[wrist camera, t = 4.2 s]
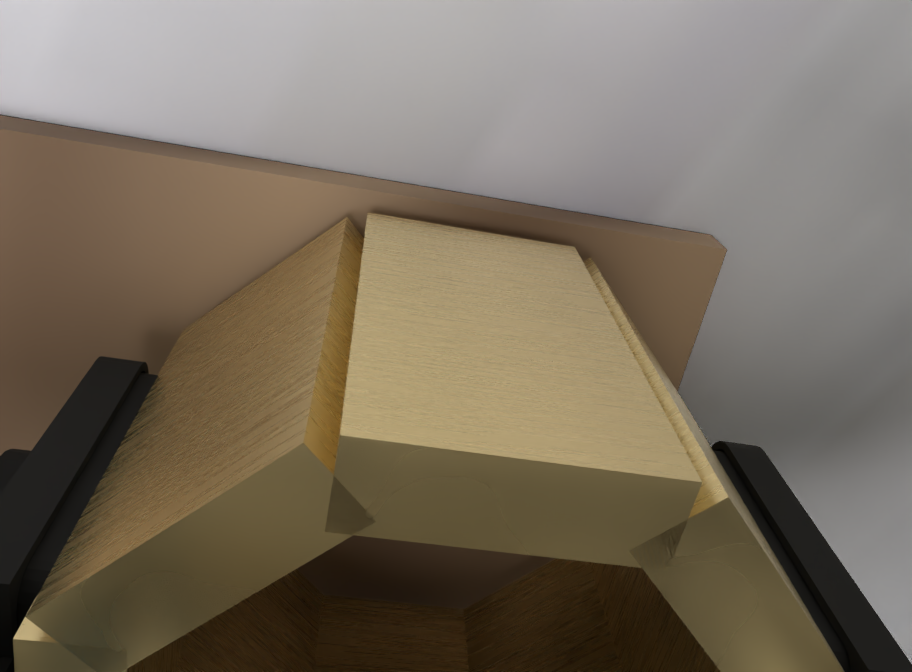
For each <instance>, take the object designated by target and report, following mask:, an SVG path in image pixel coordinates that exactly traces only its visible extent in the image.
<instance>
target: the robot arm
mask: <svg viewBox="0 0 912 672" xmlns="http://www.w3.org/2000/svg"><path fill="white" fill-rule="evenodd" d="M157 377H158V375H153V374H149V371H148V365H147V363H146V362H141V361H134V360H126V359H119V358H112V357H104V356H100V357H98V358H97V359H96V361H95V362H94V364H93V365H92V366H91V368H90V369H89V371H88V372H87V373H86V375H85V376H84V378H83V379H82V380H81V382H80V383H79V385H78V386H77V387H76V389H75V390H74V392H73V393H72V394H71V396H70V397H69V399H68V400H67V401H66V403H65V404H64V406H63V407H62V409H61V410H60V411H59V413H58V414H57V416H56V417H55V418H54V420H53V421H52V423H51V424H50V425H49V427H48V428H47V430H46V431H45V432H44V434H43V435H42V437H41V438H40V439H39V441H38V442H37V444H36V445H35V446H34V448H33V449H32V451H29V450H21V449H9V450H6V451H5V452H4V453H3V454H2V455H1V456H0V672H15V669H14V650H13V638H14V636H15V634H16V632H17V631H18V629H19V627H20V625H21V623H22V622H23V620H24V618H25V616H26V614H27V612H28V611H29V609H30V607H31V605H32V603H33V602H34V600H35V598H36V596H37V595H38V593H39V592H40V590H41V588H42V586H43V584H44V582H45V581H46V579H47V577H48V575H49V573H50V572H51V570H52V568H53V566H54V564H55V562H56V561H57V559H58V557H59V555H60V553H61V551H62V550H63V548H64V546H65V544H66V542H67V541H68V539H69V537H70V535H71V533H72V531H73V530H74V528H75V526H76V524H77V522H78V521H79V519H80V517H81V515H82V513H83V511H84V510H85V508H86V506H87V504H88V502H89V500H90V499H91V497H92V495H93V493H94V491H95V490H96V488H97V486H98V484H99V482H100V480H101V479H102V477H103V475H104V473H105V471H106V469H107V468H108V466H109V464H110V462H111V460H112V459H113V457H114V455H115V453H116V451H117V449H118V448H119V446H120V444H121V442H122V440H123V439H124V437H125V435H126V433H127V431H128V429H129V428H130V426H131V424H132V422H133V420H134V418H135V417H136V415H137V413H138V411H139V409H140V408H141V406H142V404H143V402H144V400H145V398H146V397H147V395H148V393H149V391H150V389H151V387H152V386H153V384H154V382H155V380H156V378H157ZM711 448H712V450H713V452H714V453H715V455H716V457H717V458H718V460H719V462H720V463H721V465H722V467H723V468H724V470H725V472H726V473H727V475H728V477H729V478H730V480H731V482H732V483H733V485H734V487H735V488H736V490H737V492H738V494H739V495H740V497H741V499H742V500H743V502H744V504H745V505H746V507H747V509H748V510H749V512H750V514H751V515H752V517H753V519H754V520H755V522H756V524H757V525H758V527H759V529H760V531H761V532H762V534H763V536H764V537H765V539H766V541H767V542H768V544H769V546H770V547H771V549H772V551H773V552H774V554H775V556H776V557H777V559H778V561H779V562H780V564H781V566H782V567H783V569H784V571H785V573H786V574H787V576H788V578H789V579H790V581H791V583H792V584H793V586H794V588H795V589H796V591H797V593H798V594H799V596H800V598H801V599H802V601H803V603H804V604H805V606H806V608H807V609H808V611H809V613H810V615H811V616H812V618H813V620H814V621H815V623H816V625H817V626H818V628H819V630H820V631H821V633H822V635H823V636H824V638H825V640H826V641H827V643H828V645H829V646H830V648H831V650H832V651H833V653H834V655H835V657H836V658H837V660H838V662H839V663H840V665H841V667H842V668H843V670H844V672H912V664H911V663H910V661H909V660H908V658H907V657H906V656H905V654H904V653H903V651H902V650H901V648H900V647H899V645H898V644H897V643H896V641H895V640H894V638H893V637H892V635H891V634H890V632H889V631H888V630H887V628H886V627H885V625H884V624H883V622H882V621H881V619H880V618H879V617H878V615H877V614H876V612H875V611H874V609H873V608H872V606H871V605H870V604H869V602H868V601H867V599H866V598H865V596H864V595H863V593H862V592H861V591H860V589H859V588H858V586H857V585H856V583H855V582H854V580H853V579H852V578H851V576H850V575H849V573H848V572H847V570H846V569H845V567H844V566H843V565H842V563H841V562H840V560H839V559H838V557H837V556H836V554H835V553H834V552H833V550H832V549H831V547H830V546H829V544H828V543H827V541H826V540H825V539H824V537H823V536H822V534H821V533H820V531H819V530H818V528H817V527H816V526H815V524H814V523H813V521H812V520H811V518H810V517H809V515H808V514H807V513H806V511H805V510H804V508H803V507H802V505H801V504H800V502H799V501H798V500H797V498H796V497H795V495H794V494H793V492H792V491H791V489H790V488H789V487H788V485H787V484H786V482H785V481H784V479H783V478H782V476H781V475H780V474H779V472H778V471H777V469H776V468H775V466H774V465H773V463H772V462H771V461H770V459H769V458H768V456H767V455H766V453H765V452H764V451H763V450H762V449H761V448H760V447H758V446H752V445H745V444H738V443H731V442H723V441H719V442H716V443H715V444H714V445H713V446H712V447H711Z"/></svg>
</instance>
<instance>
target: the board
mask: <svg viewBox="0 0 912 672" xmlns="http://www.w3.org/2000/svg"><path fill="white" fill-rule="evenodd" d="M368 212H370V213H376V214H382V215H388V216H394V217H400V218H406V219H412V220H418V221H424V222H430V223H436V224H442V225H448V226H454V227H460V228H465V229H471V230H477V231H483V232H489V233H495V234H501V235H507V236H513V237H519V238H525V239H531V240H537V241H543V242H549V243H555V244H561V245H567V246H573V247H575V248H576V250H577V252H578V254H579V255H580V257H581V259H582V261H583V262H584V261H585V260H587V259H588V258H590V257H591V258H592V260H593V261H594V263H595V264H596V266H597V267H598V269H599V270H600V272H601V274H602V275H603V277H604V278H605V280H606V281H607V283H608V284H609V286H610V288H611V289H612V291H613V292H614V294H615V295H616V297H617V298H618V300H619V302H620V303H621V305H622V306H623V308H624V309H625V311H626V312H627V314H628V316H629V317H630V319H631V320H632V322H633V323H634V325H635V326H636V328H637V330H638V331H639V333H640V334H641V336H642V337H643V339H644V340H645V342H646V344H647V345H648V347H649V348H650V350H651V351H652V353H653V354H654V356H655V358H656V359H657V361H658V362H659V364H660V365H661V367H662V368H663V370H664V372H665V373H666V375H667V376H668V378H669V379H670V381H671V382H672V384H673V386H674V387H675V389H676V390H677V391H678V388H679V385H680V383H681V380H682V377H683V374H684V371H685V368H686V365H687V363H688V360H689V357H690V354H691V351H692V348H693V346H694V343H695V340H696V337H697V334H698V331H699V328H700V326H701V323H702V320H703V317H704V314H705V311H706V308H707V306H708V303H709V300H710V297H711V294H712V291H713V289H714V286H715V283H716V280H717V277H718V274H719V271H720V269H721V266H722V263H723V260H724V257H725V254H726V252H727V249H726V248H725V247H724V246H723V245H722V244H721V243H719V242H718V241H717V240H716V239H715V238H714V237H713V236H712V235H708V234H702V233H696V232H690V231H684V230H678V229H672V228H666V227H660V226H655V225H649V224H643V223H637V222H631V221H625V220H619V219H613V218H607V217H601V216H595V215H589V214H583V213H577V212H572V211H566V210H560V209H554V208H548V207H542V206H536V205H530V204H524V203H518V202H512V201H506V200H500V199H494V198H489V197H483V196H477V195H471V194H465V193H459V192H453V191H447V190H441V189H435V188H429V187H423V186H417V185H411V184H405V183H400V182H394V181H388V180H382V179H376V178H370V177H364V176H358V175H352V174H346V173H340V172H334V171H328V170H322V169H317V168H311V167H305V166H299V165H293V164H287V163H281V162H275V161H269V160H263V159H257V158H251V157H245V156H239V155H234V154H228V153H222V152H216V151H210V150H204V149H198V148H192V147H186V146H180V145H174V144H168V143H162V142H156V141H151V140H145V139H139V138H133V137H127V136H121V135H115V134H109V133H103V132H97V131H91V130H85V129H79V128H73V127H68V126H62V125H56V124H50V123H44V122H38V121H32V120H26V119H20V118H14V117H8V116H2V115H0V456H1V455H2V454H3V453H4V452H5V451H6V450H9V449H21V450H29V451H32V449H33V448H34V446H35V445H36V444H37V442H38V441H39V439H40V438H41V437H42V435H43V434H44V432H45V431H46V430H47V428H48V427H49V425H50V424H51V423H52V421H53V420H54V418H55V417H56V416H57V414H58V413H59V411H60V410H61V409H62V407H63V406H64V404H65V403H66V401H67V400H68V399H69V397H70V396H71V394H72V393H73V392H74V390H75V389H76V387H77V386H78V385H79V383H80V382H81V380H82V379H83V378H84V376H85V375H86V373H87V372H88V371H89V369H90V368H91V366H92V365H93V364H94V362H95V361H96V359H97V358H98V357H100V356H104V357H112V358H119V359H126V360H134V361H141V362H146V363H147V365H148V371H149V374H153V375H158V374H159V372H160V370H161V369H162V367H163V365H164V363H165V361H166V360H167V358H168V356H169V354H170V352H171V350H172V349H173V347H174V345H175V344H176V342H177V340H178V338H179V336H180V335H181V333H182V331H183V329H185V328H186V327H188V326H189V325H191V324H192V323H193V322H195V321H196V320H198V319H199V318H201V317H202V316H204V315H205V314H206V313H208V312H209V311H211V310H212V309H214V308H215V307H217V306H218V305H220V304H221V303H222V302H224V301H225V300H227V299H228V298H230V297H231V296H233V295H234V294H235V293H237V292H238V291H240V290H241V289H243V288H244V287H246V286H247V285H249V284H250V283H251V282H253V281H254V280H256V279H257V278H259V277H260V276H262V275H263V274H264V273H266V272H267V271H269V270H270V269H272V268H273V267H275V266H276V265H278V264H279V263H280V262H282V261H283V260H285V259H286V258H288V257H289V256H291V255H292V254H293V253H295V252H296V251H298V250H299V249H301V248H302V247H304V246H305V245H307V244H308V243H309V242H311V241H312V240H314V239H315V238H317V237H318V236H320V235H321V234H322V233H324V232H325V231H327V230H328V229H330V228H331V227H333V226H334V225H336V224H337V223H338V222H340V221H341V220H343V219H344V218H346V217H348V218H349V220H350V221H351V222H352V223H353V225H354V226H355V227H356V229H357V230H358V231H359V232H360V234H361V235H362V236H363V238H364V233H365V226H366V220H367V213H368ZM554 559H556V558H550V557H541V556H532V555H523V554H515V553H506V552H497V551H488V550H479V549H471V548H462V547H453V546H444V545H435V544H427V543H418V542H409V541H400V540H391V539H383V538H374V537H365V536H356V535H353V536H351V537H350V538H348V539H346V540H344V541H343V542H341V543H339V544H338V545H336V546H334V547H333V548H331V549H329V550H327V551H326V552H324V553H322V554H321V555H319V556H317V557H316V558H314V559H312V560H310V561H309V562H307V563H305V564H304V565H302V566H300V567H299V568H297V570H298V571H299V572H300V573H301V574H302V575H303V576H304V577H305V578H306V579H307V580H308V581H309V582H310V583H311V584H312V585H313V586H315V587H316V588H317V589H318V590H319V591H320V592H321V593H322V594H323V595H331V596H340V597H350V598H360V599H369V600H379V601H389V602H398V603H408V604H418V605H427V606H437V607H447V608H456V609H465V608H467V607H468V606H470V605H472V604H474V603H476V602H478V601H479V600H481V599H483V598H485V597H487V596H488V595H490V594H492V593H494V592H496V591H498V590H499V589H501V588H503V587H505V586H507V585H509V584H510V583H512V582H514V581H516V580H518V579H520V578H521V577H523V576H525V575H527V574H529V573H530V572H532V571H534V570H536V569H538V568H540V567H541V566H543V565H545V564H547V563H549V562H551V561H552V560H554Z"/></svg>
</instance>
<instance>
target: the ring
mask: <svg viewBox="0 0 912 672" xmlns="http://www.w3.org/2000/svg"><path fill="white" fill-rule="evenodd" d="M353 535H356V536H365V537H374V538H383V539H391V540H400V541H409V542H418V543H427V544H435V545H444V546H453V547H462V548H471V549H479V550H488V551H497V552H506V553H515V554H523V555H532V556H541V557H550V558H556V559H554V560H552V561H551V562H549V563H547V564H545V565H543V566H541V567H540V568H538V569H536V570H534V571H532V572H530V573H529V574H527V575H525V576H523V577H521V578H520V579H518V580H516V581H514V582H512V583H510V584H509V585H507V586H505V587H503V588H501V589H499V590H498V591H496V592H494V593H492V594H490V595H488V596H487V597H485V598H483V599H481V600H479V601H478V602H476V603H474V604H472V605H470V606H468V607H467V608H465V609H456V608H447V607H437V606H427V605H418V604H408V603H398V602H389V601H379V600H369V599H360V598H350V597H340V596H331V595H323V594H322V593H321V592H320V591H319V590H318V589H317V588H316V587H315V586H313V585H312V584H311V583H310V582H309V581H308V580H307V579H306V578H305V577H304V576H303V575H302V574H301V573H300V572H299V571H298V570H297V568H299V567H300V566H302V565H304V564H305V563H307V562H309V561H310V560H312V559H314V558H316V557H317V556H319V555H321V554H322V553H324V552H326V551H327V550H329V549H331V548H333V547H334V546H336V545H338V544H339V543H341V542H343V541H344V540H346V539H348V538H350V537H351V536H353ZM13 650H14V669H15V672H844V670H843V668H842V667H841V665H840V663H839V662H838V660H837V658H836V657H835V655H834V653H833V651H832V650H831V648H830V646H829V645H828V643H827V641H826V640H825V638H824V636H823V635H822V633H821V631H820V630H819V628H818V626H817V625H816V623H815V621H814V620H813V618H812V616H811V615H810V613H809V611H808V609H807V608H806V606H805V604H804V603H803V601H802V599H801V598H800V596H799V594H798V593H797V591H796V589H795V588H794V586H793V584H792V583H791V581H790V579H789V578H788V576H787V574H786V573H785V571H784V569H783V567H782V566H781V564H780V562H779V561H778V559H777V557H776V556H775V554H774V552H773V551H772V549H771V547H770V546H769V544H768V542H767V541H766V539H765V537H764V536H763V534H762V532H761V531H760V529H759V527H758V525H757V524H756V522H755V520H754V519H753V517H752V515H751V514H750V512H749V510H748V509H747V507H746V505H745V504H744V502H743V500H742V499H741V497H740V495H739V494H738V492H737V490H736V488H735V487H734V485H733V483H732V482H731V480H730V478H729V477H728V475H727V473H726V472H725V470H724V468H723V467H722V465H721V463H720V462H719V460H718V458H717V457H716V455H715V453H714V452H713V450H712V448H711V446H710V445H709V443H708V441H707V440H706V438H705V436H704V435H703V433H702V431H701V430H700V428H699V426H698V425H697V423H696V421H695V420H694V418H693V416H692V415H691V413H690V411H689V410H688V408H687V406H686V404H685V403H684V401H683V400H682V398H681V396H680V395H679V393H678V392H677V390H676V389H675V387H674V386H673V384H672V382H671V381H670V379H669V378H668V376H667V375H666V373H665V372H664V370H663V368H662V367H661V365H660V364H659V362H658V361H657V359H656V358H655V356H654V354H653V353H652V351H651V350H650V348H649V347H648V345H647V344H646V342H645V340H644V339H643V337H642V336H641V334H640V333H639V331H638V330H637V328H636V326H635V325H634V323H633V322H632V320H631V319H630V317H629V316H628V314H627V312H626V311H625V309H624V308H623V306H622V305H621V303H620V302H619V300H618V298H617V297H616V295H615V294H614V292H613V291H612V289H611V288H610V286H609V284H608V283H607V281H606V280H605V278H604V277H603V275H602V274H601V272H600V270H599V269H598V267H597V266H596V264H595V263H594V261H593V260H592V258H591V257H590V258H588V259H587V260H585V261H584V262H583V261H582V259H581V257H580V255H579V254H578V252H577V250H576V248H575V247H573V246H567V245H561V244H555V243H549V242H543V241H537V240H531V239H525V238H519V237H513V236H507V235H501V234H495V233H489V232H483V231H477V230H471V229H465V228H460V227H454V226H448V225H442V224H436V223H430V222H424V221H418V220H412V219H406V218H400V217H394V216H388V215H382V214H376V213H370V212H368V213H367V220H366V226H365V233H364V238H363V236H362V235H361V234H360V232H359V231H358V230H357V229H356V227H355V226H354V225H353V223H352V222H351V221H350V220H349V218H348V217H346V218H344V219H343V220H341V221H340V222H338V223H337V224H336V225H334V226H333V227H331V228H330V229H328V230H327V231H325V232H324V233H322V234H321V235H320V236H318V237H317V238H315V239H314V240H312V241H311V242H309V243H308V244H307V245H305V246H304V247H302V248H301V249H299V250H298V251H296V252H295V253H293V254H292V255H291V256H289V257H288V258H286V259H285V260H283V261H282V262H280V263H279V264H278V265H276V266H275V267H273V268H272V269H270V270H269V271H267V272H266V273H264V274H263V275H262V276H260V277H259V278H257V279H256V280H254V281H253V282H251V283H250V284H249V285H247V286H246V287H244V288H243V289H241V290H240V291H238V292H237V293H235V294H234V295H233V296H231V297H230V298H228V299H227V300H225V301H224V302H222V303H221V304H220V305H218V306H217V307H215V308H214V309H212V310H211V311H209V312H208V313H206V314H205V315H204V316H202V317H201V318H199V319H198V320H196V321H195V322H193V323H192V324H191V325H189V326H188V327H186V328H185V329H183V331H182V333H181V335H180V336H179V338H178V340H177V342H176V344H175V345H174V347H173V349H172V350H171V352H170V354H169V356H168V358H167V360H166V361H165V363H164V365H163V367H162V369H161V370H160V372H159V374H158V377H157V378H156V380H155V382H154V384H153V386H152V387H151V389H150V391H149V393H148V395H147V397H146V398H145V400H144V402H143V404H142V406H141V408H140V409H139V411H138V413H137V415H136V417H135V418H134V420H133V422H132V424H131V426H130V428H129V429H128V431H127V433H126V435H125V437H124V439H123V440H122V442H121V444H120V446H119V448H118V449H117V451H116V453H115V455H114V457H113V459H112V460H111V462H110V464H109V466H108V468H107V469H106V471H105V473H104V475H103V477H102V479H101V480H100V482H99V484H98V486H97V488H96V490H95V491H94V493H93V495H92V497H91V499H90V500H89V502H88V504H87V506H86V508H85V510H84V511H83V513H82V515H81V517H80V519H79V521H78V522H77V524H76V526H75V528H74V530H73V531H72V533H71V535H70V537H69V539H68V541H67V542H66V544H65V546H64V548H63V550H62V551H61V553H60V555H59V557H58V559H57V561H56V562H55V564H54V566H53V568H52V570H51V572H50V573H49V575H48V577H47V579H46V581H45V582H44V584H43V586H42V588H41V590H40V592H39V593H38V595H37V596H36V598H35V600H34V602H33V603H32V605H31V607H30V609H29V611H28V612H27V614H26V616H25V618H24V620H23V622H22V623H21V625H20V627H19V629H18V631H17V632H16V634H15V636H14V638H13Z"/></svg>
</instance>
